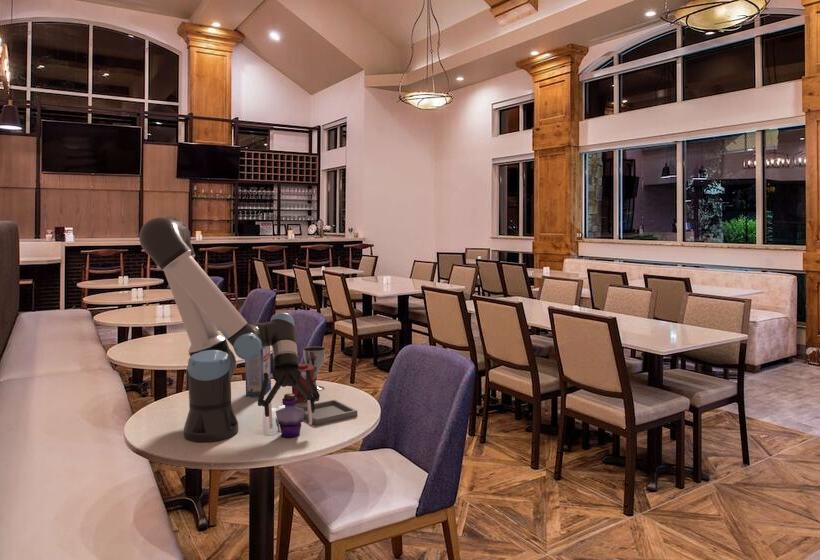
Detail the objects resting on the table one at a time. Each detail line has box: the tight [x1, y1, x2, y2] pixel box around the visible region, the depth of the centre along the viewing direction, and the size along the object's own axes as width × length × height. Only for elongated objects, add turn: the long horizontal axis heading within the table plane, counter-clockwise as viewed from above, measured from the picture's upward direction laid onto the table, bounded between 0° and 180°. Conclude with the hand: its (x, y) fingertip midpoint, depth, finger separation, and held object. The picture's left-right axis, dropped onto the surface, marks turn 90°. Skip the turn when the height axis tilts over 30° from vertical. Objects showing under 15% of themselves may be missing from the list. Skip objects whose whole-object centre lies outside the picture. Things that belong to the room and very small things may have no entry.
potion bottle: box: [275, 393, 304, 439], centre depth 171 cm, size 9×9×12 cm
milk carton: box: [244, 346, 272, 398], centre depth 213 cm, size 10×6×20 cm, turn 178°
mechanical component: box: [291, 363, 318, 403], centre depth 205 cm, size 12×10×10 cm
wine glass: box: [303, 345, 326, 391], centre depth 219 cm, size 8×8×15 cm
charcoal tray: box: [295, 399, 358, 426], centre depth 190 cm, size 15×15×2 cm
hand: (291, 424), depth 168 cm, fingers open, 10 cm apart
